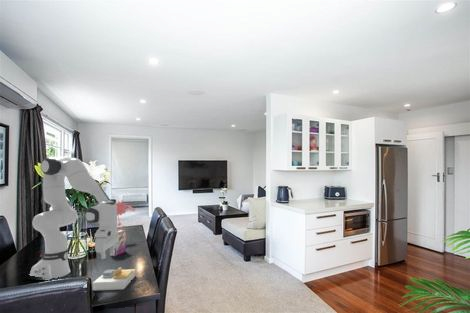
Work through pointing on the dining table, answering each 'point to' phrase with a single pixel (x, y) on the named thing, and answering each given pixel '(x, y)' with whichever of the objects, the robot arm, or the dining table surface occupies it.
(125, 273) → the shutter
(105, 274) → the plug
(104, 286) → the socket plate
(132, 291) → the dining table surface
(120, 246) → the candy bar box
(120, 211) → the pink flowers
